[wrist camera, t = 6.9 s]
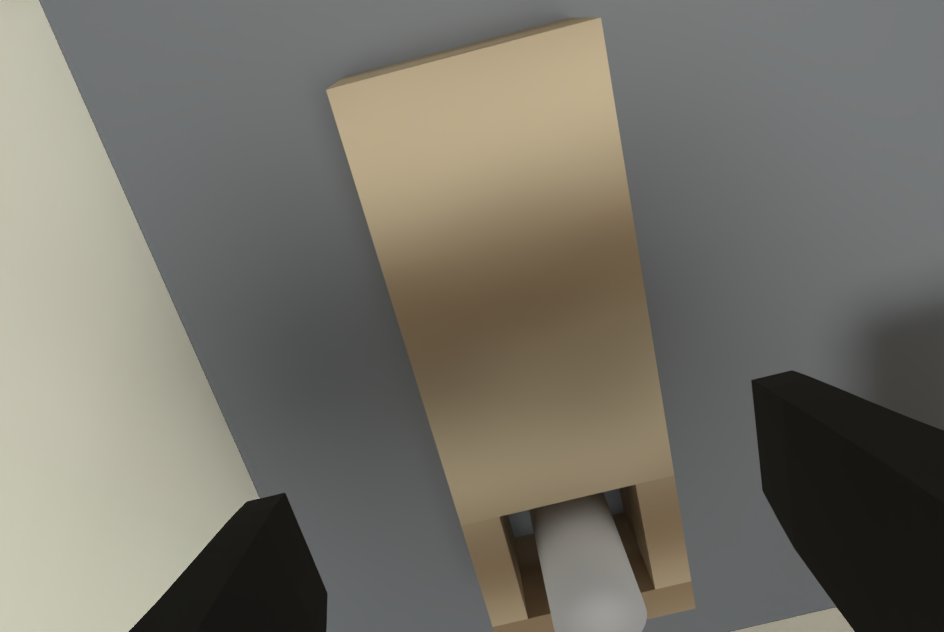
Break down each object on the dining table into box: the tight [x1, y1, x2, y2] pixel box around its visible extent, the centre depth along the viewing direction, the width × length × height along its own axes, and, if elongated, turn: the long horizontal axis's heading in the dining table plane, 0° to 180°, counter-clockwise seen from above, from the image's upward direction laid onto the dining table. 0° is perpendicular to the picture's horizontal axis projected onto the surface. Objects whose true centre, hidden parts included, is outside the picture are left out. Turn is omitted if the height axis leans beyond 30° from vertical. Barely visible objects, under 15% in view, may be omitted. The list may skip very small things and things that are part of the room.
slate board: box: [39, 0, 944, 632], centre depth 16 cm, size 22×21×6 cm
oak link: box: [326, 17, 696, 632], centre depth 17 cm, size 14×5×3 cm, turn 14°
